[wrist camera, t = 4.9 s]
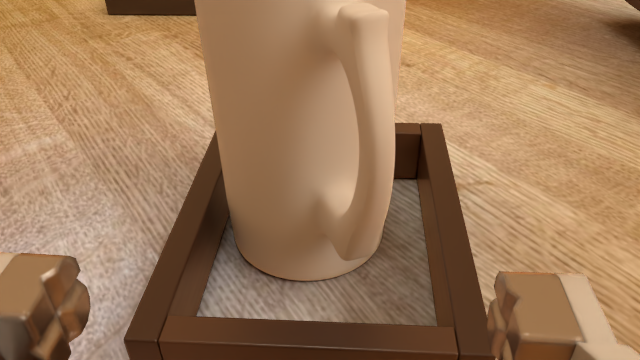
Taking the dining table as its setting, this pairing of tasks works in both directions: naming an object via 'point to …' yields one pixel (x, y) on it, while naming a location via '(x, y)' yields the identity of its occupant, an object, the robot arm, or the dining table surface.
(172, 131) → the dining table surface
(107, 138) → the dining table surface
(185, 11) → the hob
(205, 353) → the brown wooden frame
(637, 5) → the bluetooth speaker
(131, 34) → the dining table surface
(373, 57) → the mug
